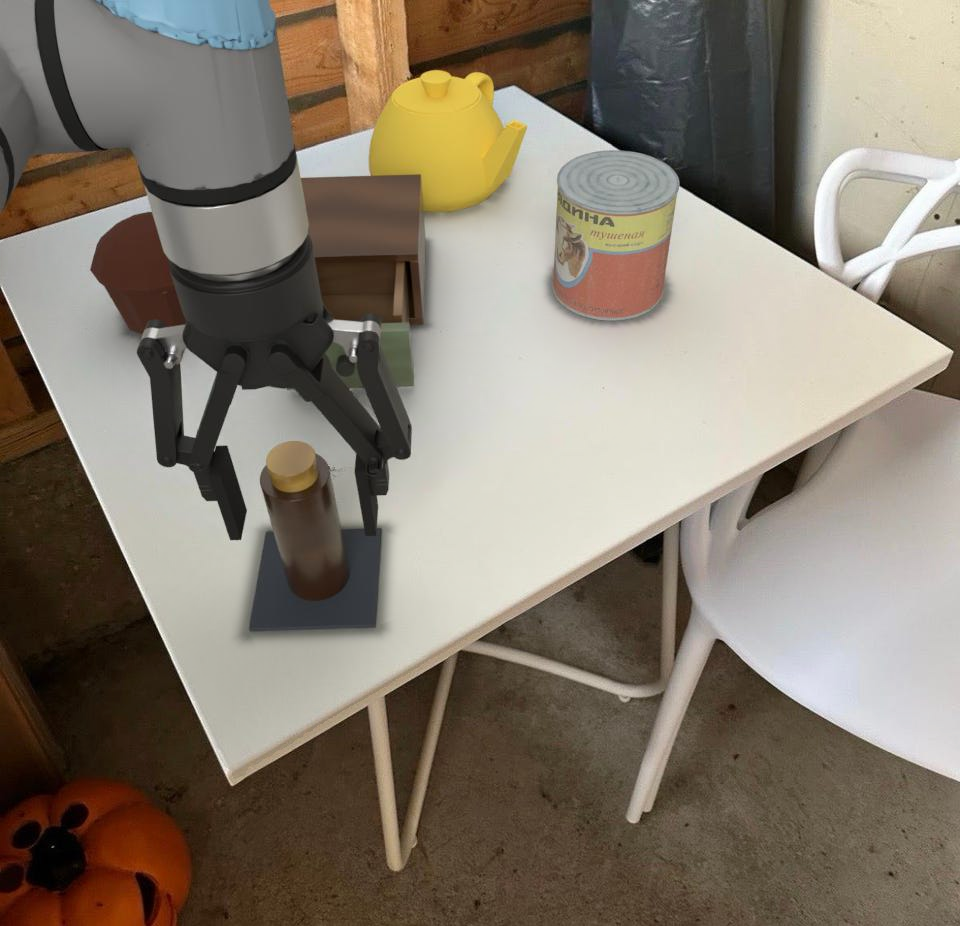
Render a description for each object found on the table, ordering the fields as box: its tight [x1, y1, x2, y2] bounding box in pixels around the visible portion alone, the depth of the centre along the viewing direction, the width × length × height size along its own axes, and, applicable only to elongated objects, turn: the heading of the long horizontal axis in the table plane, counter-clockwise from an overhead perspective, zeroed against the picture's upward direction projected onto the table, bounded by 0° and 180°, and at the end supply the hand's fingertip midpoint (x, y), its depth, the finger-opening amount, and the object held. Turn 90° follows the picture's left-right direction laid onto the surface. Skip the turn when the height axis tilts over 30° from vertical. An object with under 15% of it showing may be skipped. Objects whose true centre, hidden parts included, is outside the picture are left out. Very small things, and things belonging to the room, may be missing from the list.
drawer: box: [286, 261, 415, 391], centre depth 85 cm, size 15×11×6 cm
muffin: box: [89, 211, 186, 336], centre depth 89 cm, size 12×11×10 cm
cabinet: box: [301, 174, 427, 326], centre depth 93 cm, size 15×13×8 cm
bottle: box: [259, 440, 349, 601], centre depth 65 cm, size 5×5×13 cm
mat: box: [248, 527, 383, 632], centre depth 69 cm, size 9×9×1 cm
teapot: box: [368, 69, 528, 213], centre depth 105 cm, size 20×19×13 cm
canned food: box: [551, 149, 681, 322], centre depth 90 cm, size 11×11×12 cm
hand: (305, 522), depth 65 cm, fingers open, 9 cm apart
